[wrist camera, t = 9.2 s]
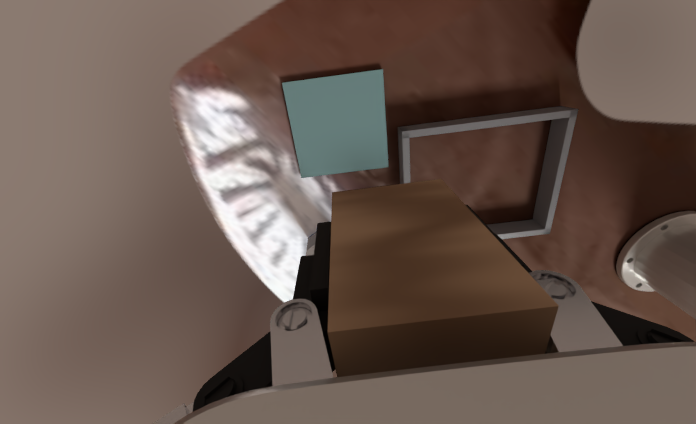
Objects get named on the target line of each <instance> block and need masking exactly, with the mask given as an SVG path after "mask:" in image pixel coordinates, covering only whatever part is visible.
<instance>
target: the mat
mask: <svg viewBox="0 0 696 424" xmlns="http://www.w3.org/2000/svg"><path fill="white" fill-rule="evenodd" d="M282 85H283V90H284V95H285V100H286V105H287V110H288V115H289V119H290V124H291V129H292V134H293V139H294V144H295V149H296V154H297V158H298V163H299V168H300V173H301V178H305V177H313V176H321V175H329V174H337V173H345V172H353V171H361V170H369V169H377V168H385V167H389V166H388V149H387V132H386V115H385V98H384V81H383V69H380V70H373V71H366V72H358V73H351V74H343V75H336V76H329V77H321V78H314V79H306V80H299V81H292V82H284V83H282Z"/></svg>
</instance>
